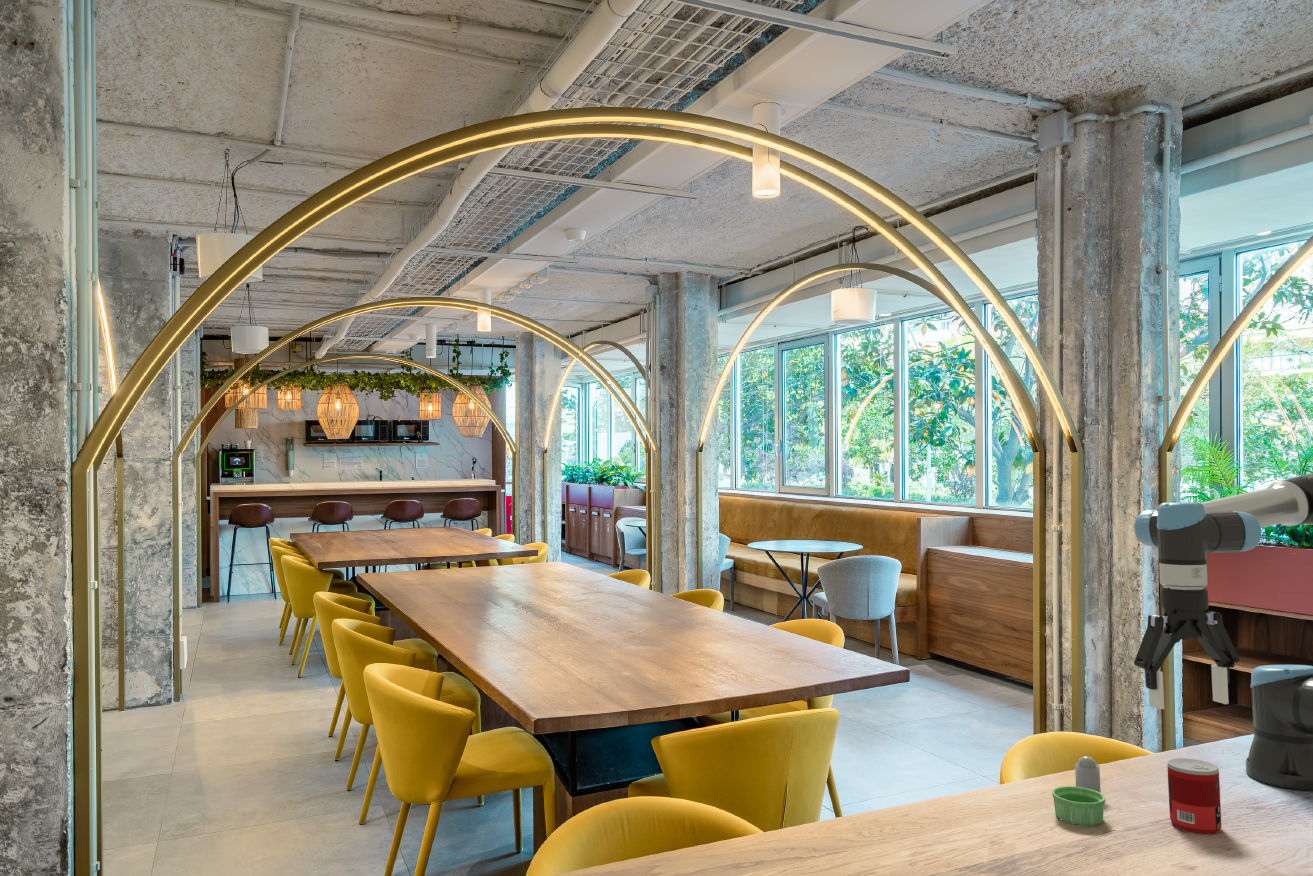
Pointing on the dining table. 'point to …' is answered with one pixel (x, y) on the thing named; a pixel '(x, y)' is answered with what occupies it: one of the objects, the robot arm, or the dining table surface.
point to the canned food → (1194, 795)
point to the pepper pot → (1087, 774)
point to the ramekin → (1079, 805)
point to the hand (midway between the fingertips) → (1189, 705)
